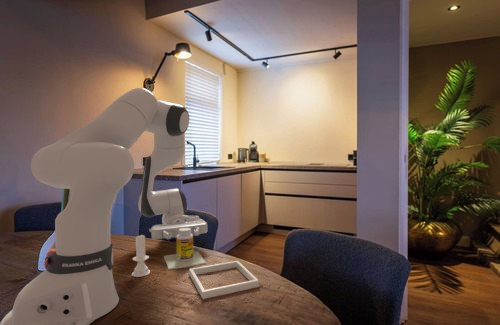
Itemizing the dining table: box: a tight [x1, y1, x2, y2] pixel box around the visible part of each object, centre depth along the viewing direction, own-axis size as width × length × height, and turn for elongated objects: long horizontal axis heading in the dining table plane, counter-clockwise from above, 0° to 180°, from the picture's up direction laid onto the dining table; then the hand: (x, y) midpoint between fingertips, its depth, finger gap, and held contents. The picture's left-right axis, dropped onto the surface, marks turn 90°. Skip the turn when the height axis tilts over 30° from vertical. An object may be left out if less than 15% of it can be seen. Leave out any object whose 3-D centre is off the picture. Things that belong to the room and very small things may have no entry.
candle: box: [131, 234, 151, 278], centre depth 85 cm, size 5×5×12 cm
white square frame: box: [188, 260, 260, 300], centre depth 80 cm, size 16×16×2 cm
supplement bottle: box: [175, 228, 194, 261], centre depth 95 cm, size 6×6×10 cm
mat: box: [163, 250, 207, 271], centre depth 95 cm, size 12×12×1 cm
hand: (183, 235), depth 97 cm, fingers open, 8 cm apart
